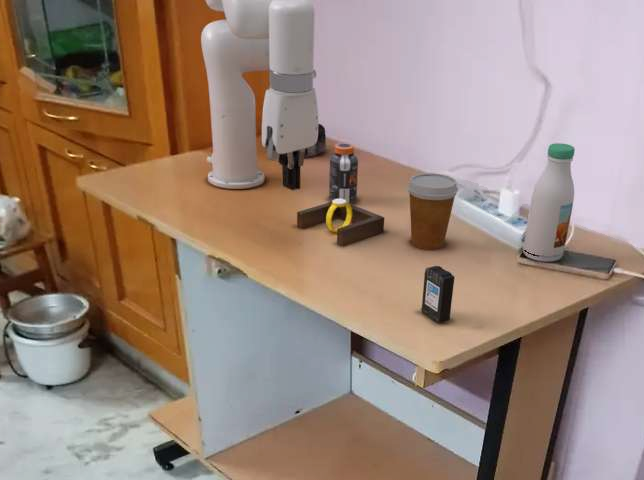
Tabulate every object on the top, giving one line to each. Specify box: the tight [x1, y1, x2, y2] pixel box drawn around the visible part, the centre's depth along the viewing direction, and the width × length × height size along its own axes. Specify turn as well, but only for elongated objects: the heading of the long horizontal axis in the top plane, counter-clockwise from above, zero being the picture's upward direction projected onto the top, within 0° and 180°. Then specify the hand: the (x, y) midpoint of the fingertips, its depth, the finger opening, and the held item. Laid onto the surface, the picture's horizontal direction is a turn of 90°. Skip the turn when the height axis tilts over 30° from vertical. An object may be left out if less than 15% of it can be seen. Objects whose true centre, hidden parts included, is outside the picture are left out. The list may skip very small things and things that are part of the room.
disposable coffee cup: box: [406, 172, 459, 250], centre depth 160 cm, size 10×10×12 cm
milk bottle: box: [522, 142, 576, 263], centre depth 156 cm, size 8×8×20 cm
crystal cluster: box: [305, 123, 327, 158], centre depth 205 cm, size 13×14×10 cm
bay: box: [296, 201, 385, 247], centre depth 167 cm, size 13×12×3 cm
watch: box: [325, 199, 353, 234], centre depth 166 cm, size 6×3×6 cm, turn 134°
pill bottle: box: [328, 142, 359, 204], centre depth 178 cm, size 6×6×11 cm
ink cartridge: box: [420, 265, 455, 324], centre depth 137 cm, size 5×2×8 cm, turn 32°
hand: (291, 187), depth 157 cm, fingers closed
